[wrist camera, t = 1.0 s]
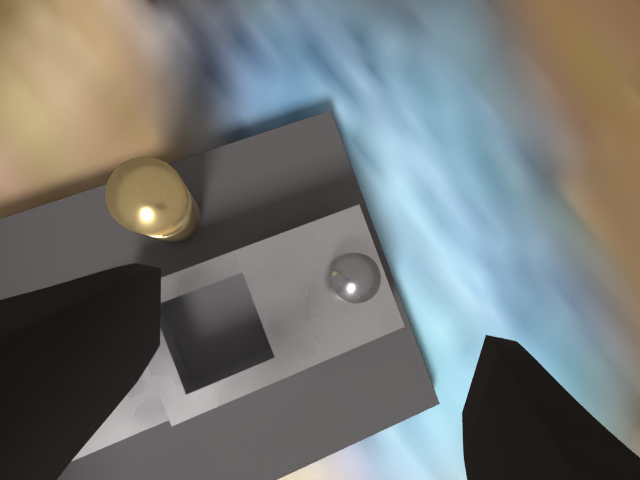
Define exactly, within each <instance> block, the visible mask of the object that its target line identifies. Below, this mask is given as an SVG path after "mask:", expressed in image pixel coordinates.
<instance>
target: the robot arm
mask: <svg viewBox="0 0 640 480" xmlns="http://www.w3.org/2000/svg"><path fill="white" fill-rule="evenodd" d="M160 320H161V268H157V267H153V266H148V265H143V264H138V263H134V264H128V265H123V266H119V267H115V268H111V269H107V270H104V271H101V272H97V273H94V274H90V275H87V276H84V277H80V278H77V279H74V280H70V281H67V282H63V283H60V284H57V285H53V286H50V287H47V288H43V289H39V290H35V291H32V292H28V293H24V294H20V295H17V296H13V297H9V298H5V299H2V300H0V480H57V479H58V478H59V476H60V475H61V474H62V473H63V471H64V470H65V469H66V467H67V466H68V465H69V464H70V462H71V461H72V460H73V459H74V457H75V456H76V455H77V454H78V453H79V451H80V450H81V449H82V448H83V447H84V445H85V444H86V443H87V442H88V441H89V440H90V438H91V437H92V436H93V435H94V434H95V432H96V431H97V430H98V429H99V428H100V426H101V425H102V424H103V423H104V422H105V420H106V419H107V418H108V417H109V416H110V414H111V413H112V412H113V411H114V410H115V409H116V407H117V406H118V405H119V404H120V402H121V401H122V400H123V399H124V398H125V396H126V395H127V394H128V393H129V392H130V390H131V389H132V388H133V387H134V385H135V384H136V383H137V382H138V380H139V379H140V377H141V376H142V374H143V372H144V371H145V369H146V368H147V366H148V365H149V363H150V361H151V360H152V358H153V356H154V355H155V353H156V351H157V350H158V348H159V346H160ZM462 423H463V452H464V462H465V468H466V475H467V480H640V458H639V457H638V456H637V455H636V454H635V453H633V452H632V451H631V450H630V449H629V448H627V447H626V446H625V445H624V444H623V443H622V442H621V441H620V440H618V439H617V438H616V437H615V436H614V435H613V434H612V433H611V432H609V431H608V430H607V429H606V428H605V427H604V426H603V425H602V424H601V423H599V422H598V421H597V420H596V419H595V418H594V417H593V416H592V415H591V414H590V413H589V412H588V411H587V410H586V409H585V408H583V407H582V406H581V405H580V404H579V403H578V402H577V401H576V400H575V399H574V398H573V397H572V396H571V395H570V394H569V393H568V392H567V391H566V390H565V389H564V388H563V387H562V386H561V385H560V384H559V383H558V382H557V381H556V380H555V379H554V378H553V377H552V376H551V375H550V374H549V373H548V372H547V371H546V370H545V369H544V368H543V367H542V366H541V364H540V363H539V362H538V361H537V360H536V359H535V358H534V357H533V356H532V355H531V354H530V353H529V352H528V351H526V350H525V349H524V348H523V347H522V346H521V345H520V344H519V343H518V342H516V341H512V340H508V339H503V338H498V337H493V336H488V335H486V337H485V340H484V343H483V347H482V350H481V353H480V357H479V360H478V363H477V366H476V370H475V373H474V376H473V379H472V383H471V386H470V389H469V392H468V396H467V399H466V402H465V405H464V409H463V412H462Z"/></svg>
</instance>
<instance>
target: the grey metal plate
mask: <svg viewBox="0 0 640 480" xmlns="http://www.w3.org/2000/svg"><path fill="white" fill-rule="evenodd" d="M241 272H242V274H243V276H244V279H245V282H246V284H247V287H248V290H249V292H250V295H251V298H252V300H253V303H254V305H255V308H256V311H257V313H258V316H259V319H260V321H261V324H262V327H263V329H264V332H265V334H266V337H267V340H268V342H269V345H270V348H269V349H267V350H265V351H262V352H260V353H257V354H255V355H252V356H250V357H248V358H245V359H243V360H240V361H238V362H236V363H233V364H231V365H228V366H226V367H223V368H221V369H219V370H216V371H214V372H211V373H209V374H207V375H204V376H202V377H199V378H197V379H195V380H192V381H191V380H190V377H189V375H188V372H187V369H186V367H185V364H184V362H183V359H182V356H181V354H180V351H179V349H178V346H177V343H176V341H175V338H174V336H173V333H172V330H171V328H170V325H169V322H168V320H167V317H166V315H165V312H164V309H163V307H162V304H161V320H160V346H159V348H158V350H157V351H156V353H155V355H154V356H153V358H152V360H151V361H150V363H149V365H148V366H147V368H146V369H145V371H144V372H143V374H142V376H141V377H140V379H139V380H138V382H137V383H136V384H135V385H134V387H133V388H132V389H131V390H130V392H129V393H128V394H127V395H126V396H125V398H124V399H123V400H122V401H121V402H120V404H119V405H118V406H117V407H116V409H115V410H114V411H113V412H112V413H111V414H110V416H109V417H108V418H107V419H106V420H105V422H104V423H103V424H102V425H101V426H100V428H99V429H98V430H97V431H96V432H95V434H94V435H93V436H92V437H91V438H90V440H89V441H88V442H87V443H86V444H85V445H84V447H83V448H82V449H81V450H80V451H79V453H78V454H77V455H76V456H75V457H74V459H73V460H72V461H74V460H76V459H79V458H81V457H83V456H86V455H88V454H90V453H93V452H95V451H97V450H100V449H102V448H104V447H107V446H109V445H111V444H114V443H116V442H119V441H121V440H123V439H126V438H128V437H130V436H133V435H135V434H137V433H140V432H142V431H144V430H147V429H149V428H151V427H154V426H156V425H159V424H161V423H163V422H166V421H168V420H169V421H170V424H171V426H174V425H176V424H179V423H181V422H183V421H186V420H188V419H190V418H193V417H195V416H197V415H200V414H202V413H204V412H207V411H209V410H211V409H214V408H216V407H218V406H221V405H223V404H225V403H228V402H230V401H232V400H235V399H237V398H239V397H242V396H244V395H246V394H249V393H251V392H253V391H256V390H258V389H260V388H263V387H265V386H267V385H270V384H272V383H274V382H277V381H279V380H281V379H284V378H286V377H289V376H291V375H293V374H296V373H298V372H300V371H303V370H305V369H307V368H310V367H312V366H314V365H317V364H319V363H321V362H324V361H326V360H328V359H331V358H333V357H335V356H338V355H340V354H342V353H345V352H347V351H349V350H352V349H354V348H356V347H359V346H361V345H363V344H366V343H368V342H370V341H373V340H375V339H377V338H380V337H382V336H384V335H387V334H389V333H391V332H394V331H396V330H398V329H401V328H403V327H405V326H404V323H403V321H402V318H401V315H400V313H399V310H398V307H397V305H396V302H395V299H394V297H393V294H392V291H391V288H390V286H389V283H388V280H387V278H386V275H385V272H384V270H383V267H382V264H381V262H380V259H379V256H378V253H377V251H376V248H375V245H374V243H373V240H372V237H371V235H370V232H369V229H368V227H367V224H366V221H365V218H364V216H363V213H362V210H361V208H360V205H356V206H353V207H351V208H348V209H345V210H343V211H340V212H337V213H334V214H332V215H329V216H326V217H324V218H321V219H318V220H316V221H313V222H310V223H307V224H305V225H302V226H299V227H297V228H294V229H291V230H289V231H286V232H283V233H280V234H278V235H275V236H272V237H270V238H267V239H264V240H262V241H259V242H256V243H254V244H251V245H248V246H245V247H243V248H240V249H237V250H235V251H232V252H229V253H227V254H224V255H221V256H218V257H216V258H213V259H210V260H208V261H205V262H202V263H200V264H197V265H194V266H191V267H189V268H186V269H183V270H181V271H178V272H175V273H173V274H170V275H167V276H165V277H162V278H161V303H163V302H165V301H168V300H170V299H173V298H176V297H178V296H181V295H184V294H186V293H189V292H191V291H194V290H197V289H199V288H202V287H205V286H207V285H210V284H213V283H215V282H218V281H220V280H223V279H226V278H228V277H231V276H234V275H236V274H239V273H241ZM72 461H71V462H72Z"/></svg>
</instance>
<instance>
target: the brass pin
mask: <svg viewBox="0 0 640 480" xmlns="http://www.w3.org/2000/svg"><path fill="white" fill-rule="evenodd" d="M105 199H106V204H107V207H108V210H109V212H110V214H111V215H112V217H113V218H114V219H115V220H116V221H117V222H118V223H119V224H120V225H122V226H123V227H125V228H127V229H128V230H131V231H134V232H137V233H141V234H144V235H148V236H151V237H154V238H158V239H161V240H165V241H168V242H182V241H185V240H188V239H189V238H191V237H192V236H193V235H194V234H195V233H196V232H197V230H198V229H199V226H200V223H201V211H200V208H199V206H198V204H197V203H196V201H195V200H194V198H193V196H192V195H191V193H190V192H189V190H188V188H187V187H186V185H185V184H184V182H183V181H182V179H181V177H180V176H179V174H178V173H177V172H176V170H175V169H174V168H173V167H171V166H170V165H169V164H167V163H166V162H164V161H162V160H159V159H156V158H151V157H139V158H134V159H131V160H128V161H126V162H124V163H123V164H121V165H120V166H119V167H117V168H116V169H115V170H114V172H113V173H112V174H111V176H110V178H109V180H108V182H107V185H106V191H105Z"/></svg>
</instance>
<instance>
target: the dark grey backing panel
mask: <svg viewBox="0 0 640 480" xmlns="http://www.w3.org/2000/svg"><path fill="white" fill-rule="evenodd" d="M169 165H170V166H171V167H173V168H174V169H175V170H176V172H177V173H178V174H179V176H180V177H181V179H182V181H183V182H184V184H185V185H186V187H187V188H188V190H189V192H190V193H191V195H192V196H193V198H194V200H195V201H196V203H197V204H198V206H199V208H200V211H201V223H200V226H199V229H198V230H197V232H196V233H195V234H194V235H193V236H192V237H191V238H189V239H188V240H185V241H182V242H168V241H165V240H161V239H158V238H154V237H151V236H148V235H144V234H141V233H137V232H134V231H131V230H128V229H127V228H125V227H123V226H122V225H120V224H119V223H118V222H117V221H116V220H115V219H114V218H113V217H112V215H111V214H110V212H109V210H108V207H107V204H106V199H105V191H106V185H107V184H105V185H102V186H99V187H96V188H93V189H90V190H87V191H84V192H81V193H78V194H75V195H72V196H69V197H66V198H63V199H60V200H57V201H54V202H51V203H48V204H45V205H42V206H39V207H36V208H32V209H29V210H26V211H23V212H20V213H17V214H14V215H11V216H8V217H5V218H2V219H0V300H2V299H5V298H9V297H13V296H17V295H20V294H24V293H28V292H32V291H35V290H39V289H43V288H47V287H50V286H53V285H57V284H60V283H63V282H67V281H70V280H74V279H77V278H80V277H84V276H87V275H90V274H94V273H97V272H101V271H104V270H107V269H111V268H115V267H119V266H123V265H128V264H134V263H138V264H143V265H148V266H153V267H157V268H161V278H162V277H165V276H167V275H170V274H173V273H175V272H178V271H181V270H183V269H186V268H189V267H191V266H194V265H197V264H200V263H202V262H205V261H208V260H210V259H213V258H216V257H218V256H221V255H224V254H227V253H229V252H232V251H235V250H237V249H240V248H243V247H245V246H248V245H251V244H254V243H256V242H259V241H262V240H264V239H267V238H270V237H272V236H275V235H278V234H280V233H283V232H286V231H289V230H291V229H294V228H297V227H299V226H302V225H305V224H307V223H310V222H313V221H316V220H318V219H321V218H324V217H326V216H329V215H332V214H334V213H337V212H340V211H343V210H345V209H348V208H351V207H353V206H356V205H360V208H361V210H362V213H363V216H364V218H365V221H366V224H367V227H368V229H369V232H370V235H371V237H372V240H373V243H374V245H375V248H376V251H377V253H378V256H379V259H380V262H381V264H382V267H383V270H384V272H385V275H386V278H387V280H388V283H389V286H390V288H391V291H392V294H393V297H394V299H395V302H396V305H397V307H398V310H399V313H400V315H401V318H402V321H403V323H404V326H405V327H403V328H401V329H398V330H396V331H394V332H391V333H389V334H387V335H384V336H382V337H380V338H377V339H375V340H373V341H370V342H368V343H366V344H363V345H361V346H359V347H356V348H354V349H352V350H349V351H347V352H345V353H342V354H340V355H338V356H335V357H333V358H331V359H328V360H326V361H324V362H321V363H319V364H317V365H314V366H312V367H310V368H307V369H305V370H303V371H300V372H298V373H296V374H293V375H291V376H289V377H286V378H284V379H281V380H279V381H277V382H274V383H272V384H270V385H267V386H265V387H263V388H260V389H258V390H256V391H253V392H251V393H249V394H246V395H244V396H242V397H239V398H237V399H235V400H232V401H230V402H228V403H225V404H223V405H221V406H218V407H216V408H214V409H211V410H209V411H207V412H204V413H202V414H200V415H197V416H195V417H193V418H190V419H188V420H186V421H183V422H181V423H179V424H176V425H174V426H171V424H170V421H169V420H168V421H166V422H163V423H161V424H159V425H156V426H154V427H151V428H149V429H147V430H144V431H142V432H140V433H137V434H135V435H133V436H130V437H128V438H126V439H123V440H121V441H119V442H116V443H114V444H111V445H109V446H107V447H104V448H102V449H100V450H97V451H95V452H93V453H90V454H88V455H86V456H83V457H81V458H79V459H76V460H74V461H72V462H70V464H69V465H68V466H67V467H66V469H65V470H64V471H63V473H62V474H61V475H60V476H59V478H58V479H57V480H277V479H279V478H282V477H284V476H286V475H288V474H290V473H292V472H294V471H297V470H299V469H301V468H303V467H305V466H307V465H309V464H312V463H314V462H316V461H318V460H320V459H322V458H324V457H327V456H329V455H331V454H333V453H335V452H337V451H339V450H342V449H344V448H346V447H348V446H350V445H352V444H354V443H357V442H359V441H361V440H363V439H365V438H367V437H369V436H372V435H374V434H376V433H378V432H380V431H382V430H384V429H387V428H389V427H391V426H393V425H395V424H397V423H399V422H402V421H404V420H406V419H408V418H410V417H412V416H414V415H417V414H419V413H421V412H423V411H425V410H427V409H429V408H432V407H434V406H436V405H438V404H439V401H438V398H437V396H436V393H435V390H434V387H433V385H432V382H431V379H430V377H429V374H428V371H427V369H426V366H425V363H424V361H423V358H422V355H421V352H420V350H419V347H418V344H417V342H416V339H415V336H414V334H413V331H412V328H411V326H410V323H409V320H408V317H407V315H406V312H405V309H404V307H403V304H402V301H401V299H400V296H399V293H398V291H397V288H396V285H395V282H394V280H393V277H392V274H391V272H390V269H389V266H388V264H387V261H386V258H385V255H384V253H383V250H382V247H381V245H380V242H379V239H378V237H377V234H376V231H375V229H374V226H373V223H372V220H371V218H370V215H369V212H368V210H367V207H366V204H365V202H364V199H363V196H362V194H361V191H360V188H359V185H358V183H357V180H356V177H355V175H354V172H353V169H352V167H351V164H350V161H349V159H348V156H347V153H346V150H345V148H344V145H343V142H342V140H341V137H340V134H339V132H338V129H337V126H336V124H335V121H334V118H333V115H332V113H331V110H330V111H327V112H324V113H321V114H318V115H315V116H312V117H309V118H306V119H303V120H300V121H297V122H294V123H291V124H288V125H285V126H282V127H279V128H276V129H273V130H270V131H266V132H263V133H260V134H257V135H254V136H251V137H248V138H245V139H242V140H239V141H236V142H233V143H230V144H227V145H224V146H221V147H218V148H215V149H212V150H209V151H206V152H203V153H200V154H197V155H194V156H190V157H187V158H184V159H181V160H178V161H175V162H172V163H169ZM161 304H162V307H163V309H164V312H165V315H166V317H167V320H168V322H169V325H170V328H171V330H172V333H173V336H174V338H175V341H176V343H177V346H178V349H179V351H180V354H181V356H182V359H183V362H184V364H185V367H186V369H187V372H188V375H189V377H190V380H191V381H192V380H195V379H197V378H199V377H202V376H204V375H207V374H209V373H211V372H214V371H216V370H219V369H221V368H223V367H226V366H228V365H231V364H233V363H236V362H238V361H240V360H243V359H245V358H248V357H250V356H252V355H255V354H257V353H260V352H262V351H265V350H267V349H269V348H270V345H269V342H268V340H267V337H266V334H265V332H264V329H263V327H262V324H261V321H260V319H259V316H258V313H257V311H256V308H255V305H254V303H253V300H252V298H251V295H250V292H249V290H248V287H247V284H246V282H245V279H244V276H243V274H242V272H241V273H239V274H236V275H234V276H231V277H228V278H226V279H223V280H220V281H218V282H215V283H213V284H210V285H207V286H205V287H202V288H199V289H197V290H194V291H191V292H189V293H186V294H184V295H181V296H178V297H176V298H173V299H170V300H168V301H165V302H163V303H161Z"/></svg>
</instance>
